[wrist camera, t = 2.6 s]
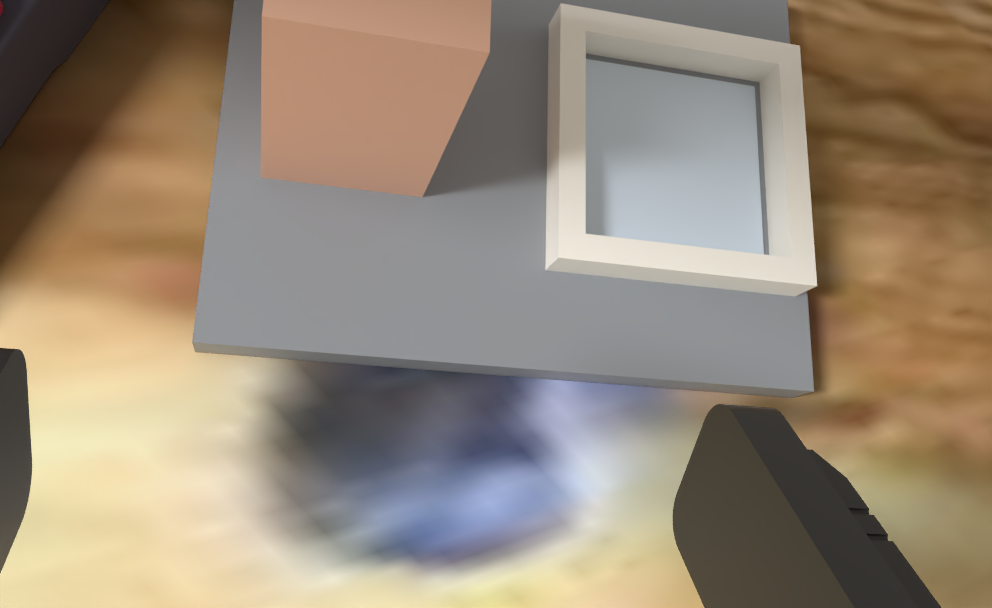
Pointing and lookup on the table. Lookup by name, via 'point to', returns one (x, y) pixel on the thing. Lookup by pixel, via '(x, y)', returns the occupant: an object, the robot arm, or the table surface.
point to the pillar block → (366, 88)
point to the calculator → (36, 48)
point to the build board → (546, 212)
